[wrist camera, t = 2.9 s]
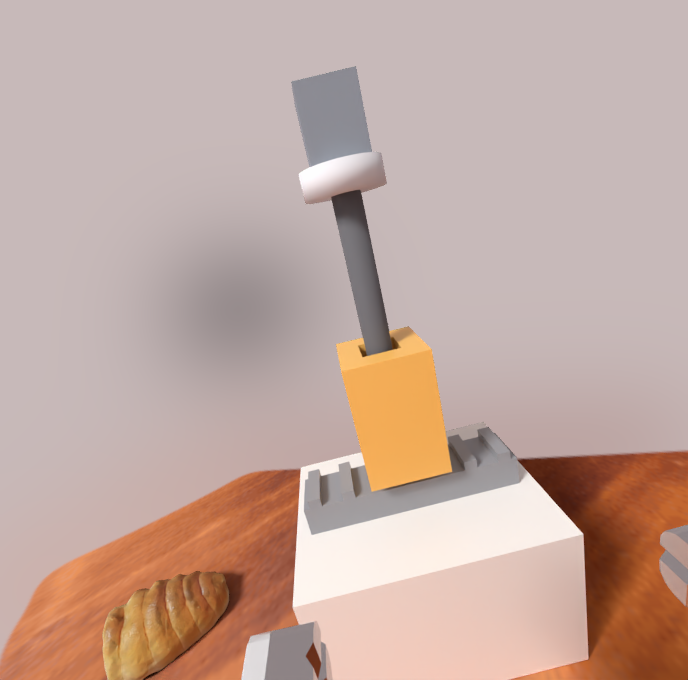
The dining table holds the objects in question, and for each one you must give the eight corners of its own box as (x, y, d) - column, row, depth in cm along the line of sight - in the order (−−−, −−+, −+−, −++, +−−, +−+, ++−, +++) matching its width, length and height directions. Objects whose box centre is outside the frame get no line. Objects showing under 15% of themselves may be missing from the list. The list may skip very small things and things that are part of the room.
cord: (431, 465, 27) (360, 93, 20) (452, 508, 23) (373, 55, 16) (374, 480, 27) (283, 111, 20) (385, 525, 23) (274, 79, 16)
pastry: (226, 567, 35) (213, 538, 34) (238, 629, 29) (223, 595, 28) (121, 626, 32) (102, 595, 31) (110, 709, 26) (87, 675, 25)
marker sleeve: (427, 428, 26) (408, 326, 24) (452, 471, 22) (431, 349, 19) (361, 445, 26) (335, 344, 24) (371, 491, 22) (341, 371, 19)
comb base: (495, 514, 34) (479, 395, 30) (588, 659, 22) (581, 495, 18) (329, 555, 34) (292, 441, 30) (336, 723, 22) (278, 571, 18)
